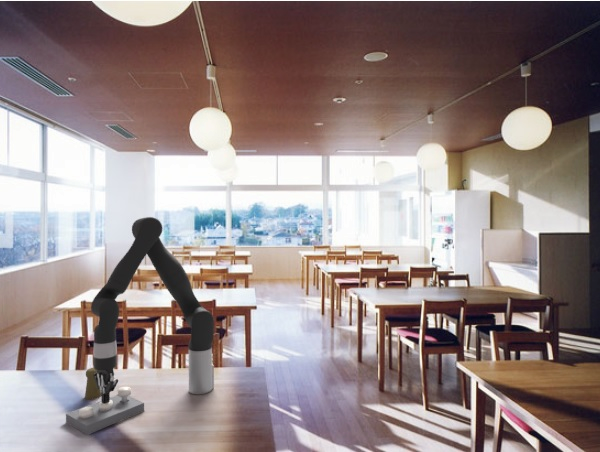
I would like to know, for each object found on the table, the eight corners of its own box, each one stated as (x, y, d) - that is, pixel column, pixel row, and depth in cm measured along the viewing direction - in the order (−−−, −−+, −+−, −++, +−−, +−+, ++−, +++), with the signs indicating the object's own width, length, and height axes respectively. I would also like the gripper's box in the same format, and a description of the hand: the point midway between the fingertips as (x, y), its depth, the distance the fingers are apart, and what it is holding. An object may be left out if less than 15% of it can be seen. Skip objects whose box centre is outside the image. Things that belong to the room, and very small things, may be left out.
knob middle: (108, 412, 155) (108, 398, 155) (115, 415, 152) (115, 401, 152) (96, 416, 152) (96, 403, 151) (103, 420, 149) (103, 406, 149)
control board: (122, 400, 165) (122, 393, 165) (144, 410, 156) (144, 402, 156) (66, 422, 148) (65, 413, 148) (86, 434, 139) (86, 425, 139)
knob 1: (89, 419, 149) (89, 405, 149) (96, 423, 147) (96, 409, 147) (76, 424, 146) (76, 410, 146) (83, 428, 143) (83, 413, 143)
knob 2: (126, 398, 161) (126, 385, 161) (133, 401, 158) (133, 388, 158) (115, 402, 157) (115, 389, 157) (122, 405, 155) (122, 392, 154)
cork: (95, 400, 165) (94, 371, 165) (81, 398, 166) (80, 370, 166) (105, 393, 171) (104, 366, 171) (91, 392, 172) (91, 365, 172)
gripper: (125, 354, 150) (125, 403, 151) (105, 347, 158) (105, 394, 159) (105, 360, 144) (105, 411, 145) (85, 352, 152) (85, 401, 153)
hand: (105, 402), depth 152 cm, fingers closed
